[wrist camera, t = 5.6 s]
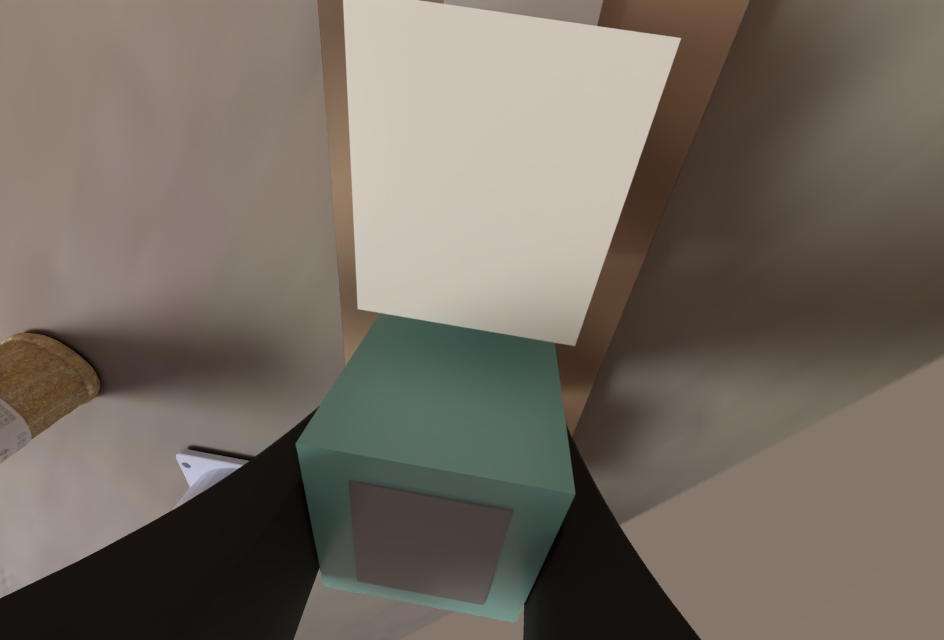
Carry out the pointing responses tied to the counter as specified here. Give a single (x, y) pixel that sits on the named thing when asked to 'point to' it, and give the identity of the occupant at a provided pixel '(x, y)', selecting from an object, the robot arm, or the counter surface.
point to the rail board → (669, 139)
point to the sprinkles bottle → (39, 387)
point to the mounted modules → (491, 160)
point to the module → (439, 467)
